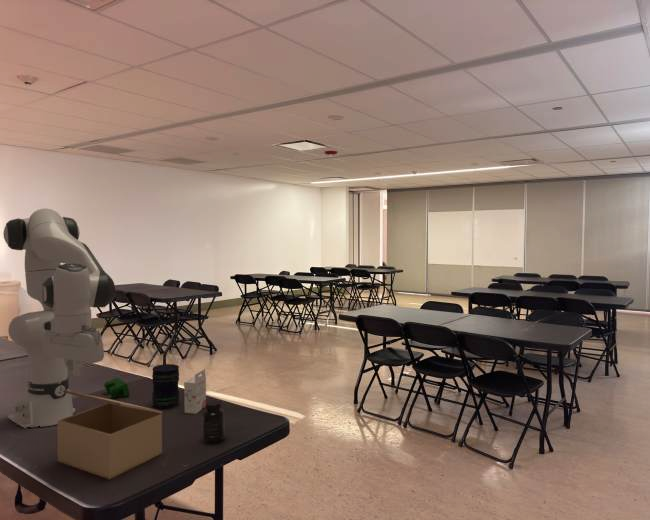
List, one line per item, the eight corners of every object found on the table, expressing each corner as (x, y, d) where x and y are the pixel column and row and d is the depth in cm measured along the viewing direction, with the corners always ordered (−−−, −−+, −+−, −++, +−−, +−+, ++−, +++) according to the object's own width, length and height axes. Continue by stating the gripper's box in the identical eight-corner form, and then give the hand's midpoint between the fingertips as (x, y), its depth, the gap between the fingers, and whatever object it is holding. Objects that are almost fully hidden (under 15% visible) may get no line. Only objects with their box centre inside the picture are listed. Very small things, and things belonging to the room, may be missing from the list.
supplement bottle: (204, 435, 154) (204, 399, 154) (225, 434, 155) (225, 398, 154) (200, 444, 147) (200, 406, 147) (222, 443, 148) (222, 406, 148)
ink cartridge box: (194, 405, 183) (194, 367, 182) (206, 406, 182) (206, 368, 181) (183, 413, 174) (183, 373, 174) (196, 414, 173) (196, 374, 173)
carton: (57, 461, 135) (57, 420, 134) (111, 438, 151) (111, 401, 150) (110, 479, 125) (110, 435, 124) (162, 453, 141) (161, 413, 141)
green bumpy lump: (110, 404, 196) (102, 384, 197) (124, 398, 199) (116, 378, 200) (116, 400, 186) (107, 379, 187) (131, 394, 190) (122, 373, 191)
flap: (62, 392, 136) (63, 390, 136) (111, 401, 150) (112, 399, 151) (115, 404, 126) (116, 402, 126) (161, 413, 141) (162, 411, 141)
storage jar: (148, 410, 177) (148, 370, 177) (157, 401, 187) (157, 364, 187) (174, 410, 177) (174, 370, 177) (182, 401, 187) (182, 364, 187)
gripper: (109, 325, 124) (110, 377, 125) (60, 320, 134) (61, 368, 134) (88, 329, 119) (89, 383, 119) (38, 323, 128) (39, 373, 128)
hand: (73, 375), depth 127 cm, fingers closed
